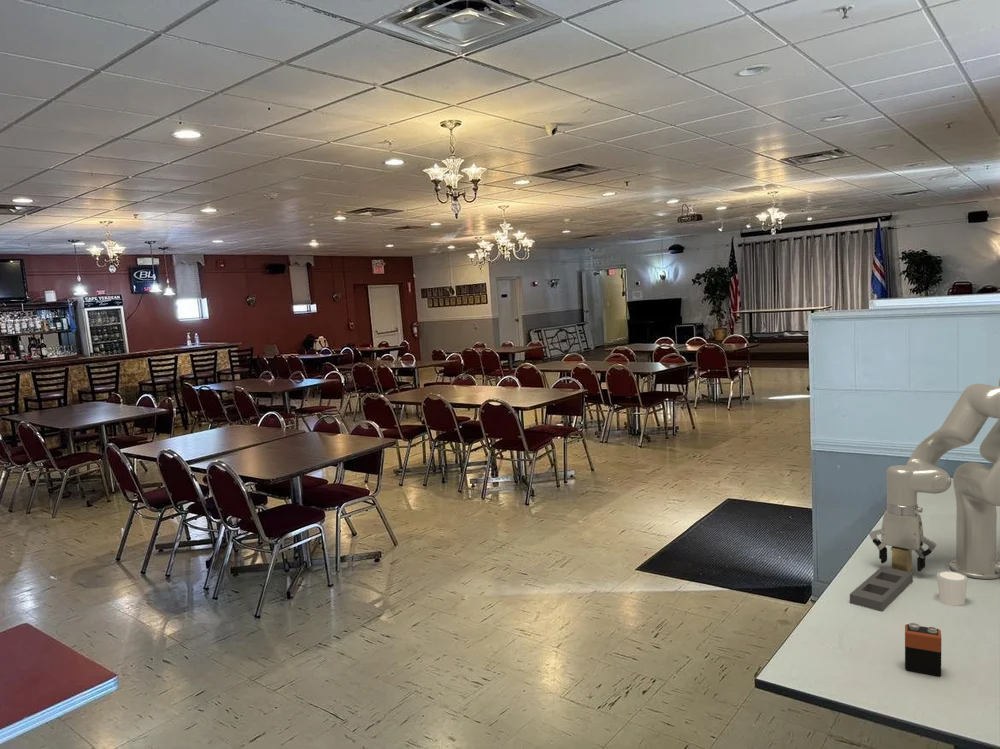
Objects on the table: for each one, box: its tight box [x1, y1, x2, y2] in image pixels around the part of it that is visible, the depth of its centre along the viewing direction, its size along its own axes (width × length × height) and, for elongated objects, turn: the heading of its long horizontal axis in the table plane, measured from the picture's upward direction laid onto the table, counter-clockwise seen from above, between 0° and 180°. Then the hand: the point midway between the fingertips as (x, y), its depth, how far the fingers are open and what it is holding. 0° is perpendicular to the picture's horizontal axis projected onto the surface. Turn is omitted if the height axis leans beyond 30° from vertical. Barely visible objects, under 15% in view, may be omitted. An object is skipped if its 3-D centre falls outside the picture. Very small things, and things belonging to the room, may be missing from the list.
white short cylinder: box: [936, 570, 969, 607], centre depth 184 cm, size 7×7×7 cm
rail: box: [849, 565, 914, 612], centre depth 192 cm, size 8×24×2 cm, turn 133°
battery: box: [904, 622, 942, 677], centre depth 154 cm, size 4×7×10 cm, turn 60°
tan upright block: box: [890, 546, 913, 573], centre depth 203 cm, size 4×4×8 cm
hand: (901, 565), depth 203 cm, fingers open, 9 cm apart
